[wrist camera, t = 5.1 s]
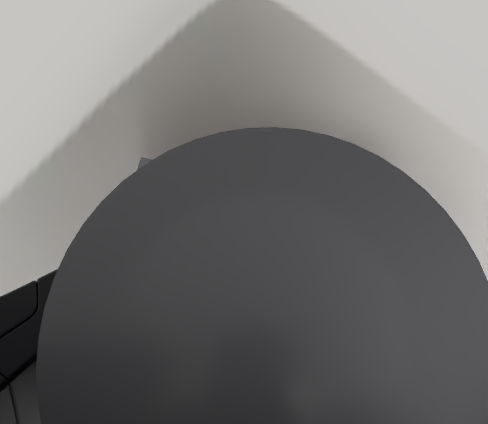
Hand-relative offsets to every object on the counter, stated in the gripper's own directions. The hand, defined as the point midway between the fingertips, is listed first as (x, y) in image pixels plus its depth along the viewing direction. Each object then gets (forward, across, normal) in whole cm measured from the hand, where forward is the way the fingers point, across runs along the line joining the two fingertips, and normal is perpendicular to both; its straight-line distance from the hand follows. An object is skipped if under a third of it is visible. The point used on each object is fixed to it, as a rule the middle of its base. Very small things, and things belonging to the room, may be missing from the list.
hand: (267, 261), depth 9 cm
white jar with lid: (+4, 0, +6) cm, 7 cm away
